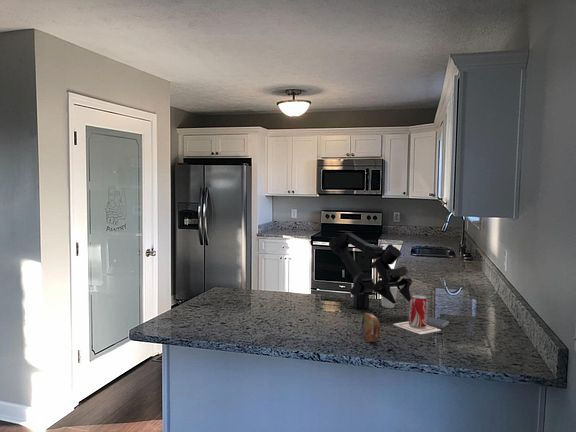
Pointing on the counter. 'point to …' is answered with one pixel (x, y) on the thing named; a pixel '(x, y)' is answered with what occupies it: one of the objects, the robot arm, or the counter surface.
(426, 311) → the soda can
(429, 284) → the counter surface
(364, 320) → the brown oval slab
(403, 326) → the print card
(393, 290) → the dixie cup
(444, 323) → the ink pad
